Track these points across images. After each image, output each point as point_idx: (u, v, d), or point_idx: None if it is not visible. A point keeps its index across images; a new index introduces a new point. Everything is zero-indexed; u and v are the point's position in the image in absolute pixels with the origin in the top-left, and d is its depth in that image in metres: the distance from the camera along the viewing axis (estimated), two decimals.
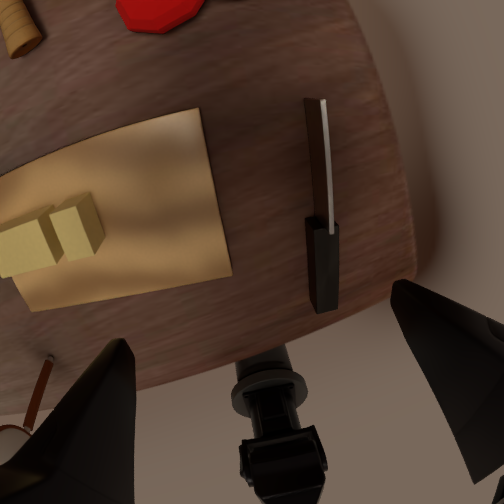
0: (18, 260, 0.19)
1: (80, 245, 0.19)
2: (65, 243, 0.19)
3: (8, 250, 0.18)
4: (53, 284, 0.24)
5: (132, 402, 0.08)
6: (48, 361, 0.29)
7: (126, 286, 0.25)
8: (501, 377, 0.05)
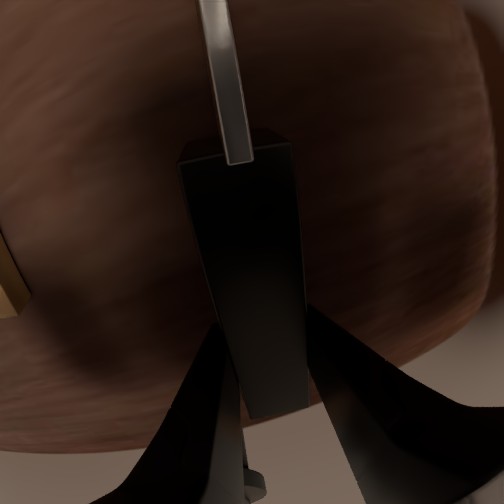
0: None
1: None
2: None
3: None
4: None
5: (237, 390, 0.08)
6: None
7: None
8: (383, 440, 0.04)
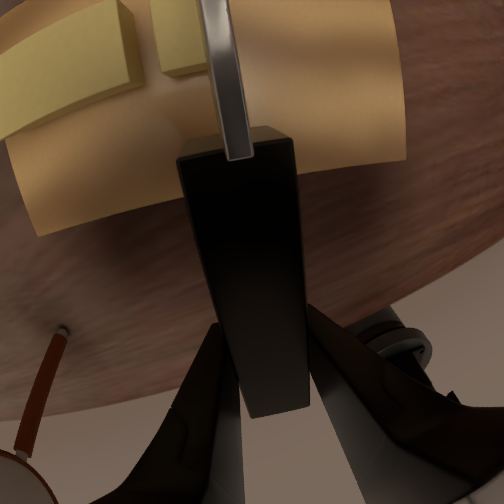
0: (41, 87, 0.08)
1: (201, 37, 0.09)
2: (167, 35, 0.09)
3: (27, 71, 0.08)
4: (91, 169, 0.13)
5: (237, 390, 0.08)
6: (59, 336, 0.18)
7: None
8: (383, 440, 0.04)
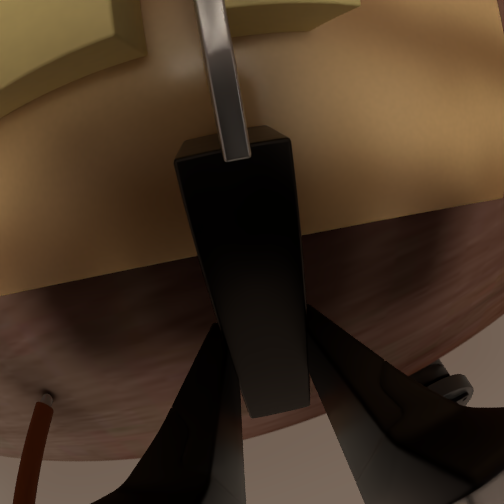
0: None
1: None
2: None
3: None
4: (56, 203, 0.08)
5: (238, 390, 0.08)
6: (43, 405, 0.12)
7: (311, 203, 0.09)
8: (382, 440, 0.04)
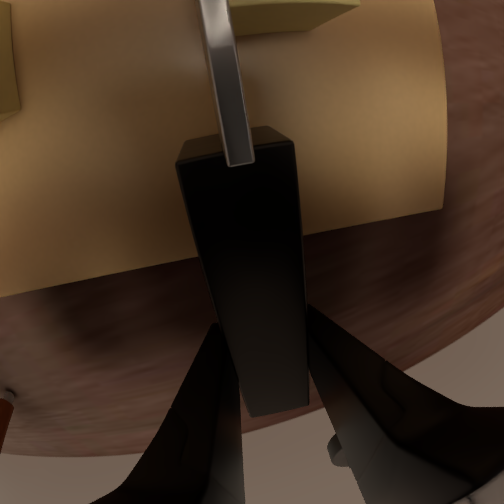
0: None
1: None
2: None
3: None
4: None
5: (237, 390, 0.08)
6: (4, 402, 0.12)
7: (174, 231, 0.09)
8: (382, 440, 0.04)
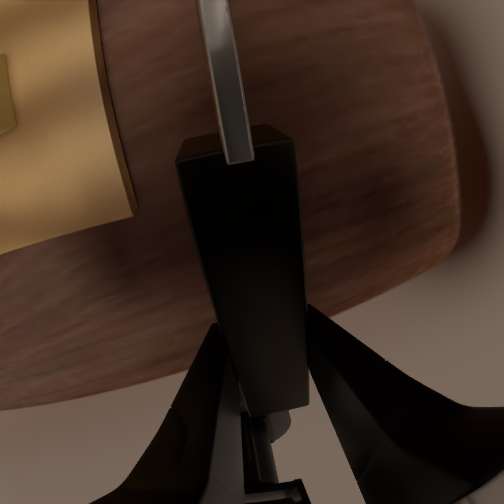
0: None
1: None
2: None
3: None
4: None
5: (237, 390, 0.08)
6: None
7: None
8: (383, 440, 0.04)
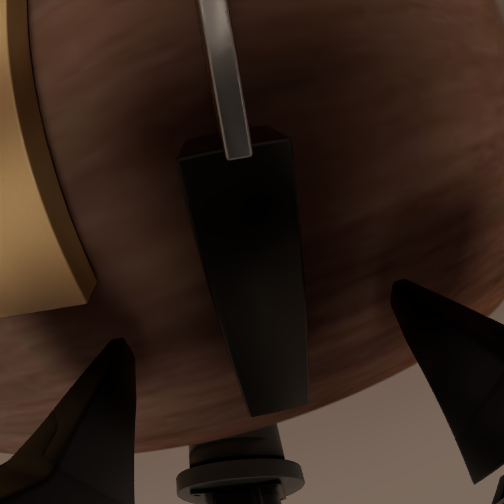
0: None
1: None
2: None
3: None
4: None
5: (132, 402, 0.08)
6: None
7: None
8: (501, 377, 0.05)
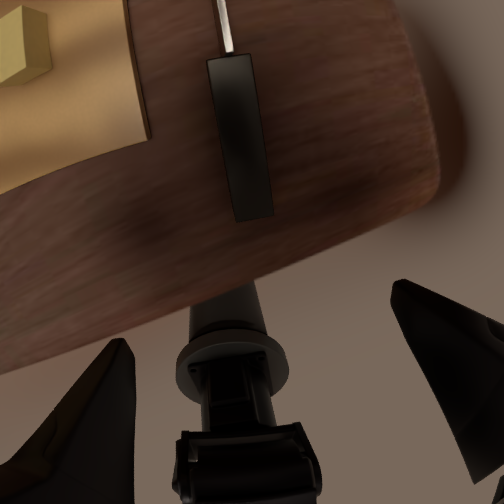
0: None
1: (12, 56, 0.09)
2: None
3: None
4: None
5: (132, 402, 0.08)
6: None
7: (13, 172, 0.14)
8: (502, 377, 0.05)
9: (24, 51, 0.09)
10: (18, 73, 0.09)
